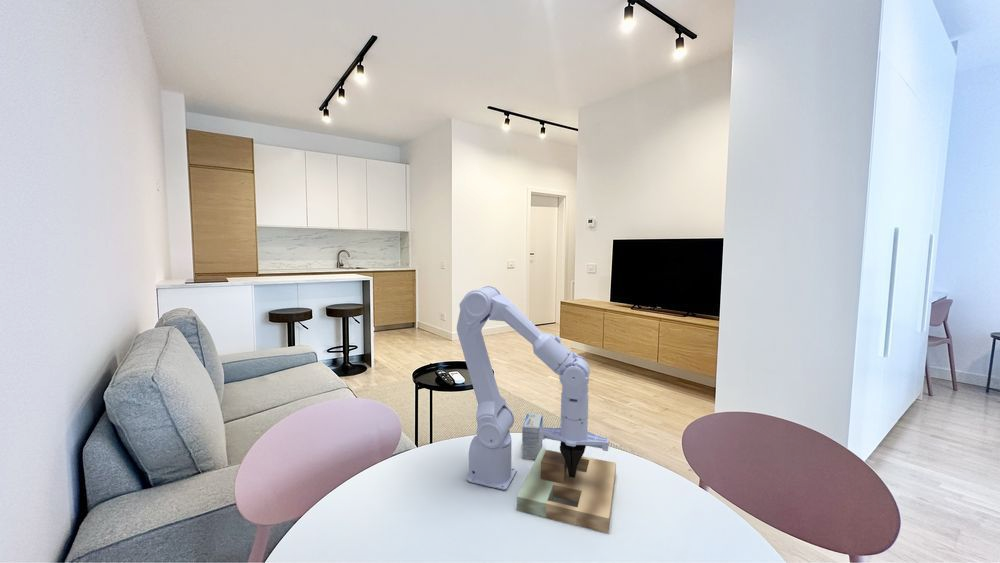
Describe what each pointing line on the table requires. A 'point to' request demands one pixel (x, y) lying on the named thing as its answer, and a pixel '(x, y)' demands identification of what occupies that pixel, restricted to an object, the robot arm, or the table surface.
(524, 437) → the medicine box
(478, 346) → the robot arm
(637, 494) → the table surface
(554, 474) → the walnut block
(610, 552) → the table surface
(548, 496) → the board
